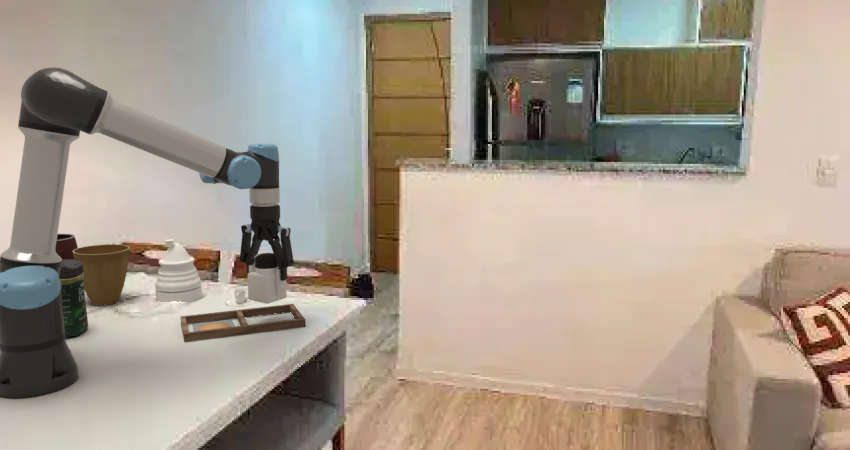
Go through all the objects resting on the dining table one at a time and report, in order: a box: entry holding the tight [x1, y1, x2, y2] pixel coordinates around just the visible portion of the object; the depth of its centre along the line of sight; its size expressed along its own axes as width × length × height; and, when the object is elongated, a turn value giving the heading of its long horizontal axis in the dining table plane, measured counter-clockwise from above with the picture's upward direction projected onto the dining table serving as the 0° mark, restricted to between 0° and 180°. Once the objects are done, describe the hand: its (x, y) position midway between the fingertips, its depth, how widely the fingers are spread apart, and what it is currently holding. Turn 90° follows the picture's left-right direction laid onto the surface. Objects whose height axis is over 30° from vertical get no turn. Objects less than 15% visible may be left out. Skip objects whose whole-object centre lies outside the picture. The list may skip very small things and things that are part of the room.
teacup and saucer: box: [225, 288, 255, 307], centre depth 195 cm, size 9×8×4 cm
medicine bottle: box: [247, 252, 288, 305], centre depth 175 cm, size 7×7×12 cm
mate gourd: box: [55, 233, 79, 260], centre depth 207 cm, size 16×14×20 cm
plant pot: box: [73, 243, 131, 306], centre depth 195 cm, size 15×15×16 cm
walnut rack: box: [179, 303, 306, 343], centre depth 174 cm, size 15×30×2 cm, turn 112°
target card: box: [191, 319, 235, 331], centre depth 171 cm, size 10×10×1 cm
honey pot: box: [154, 238, 203, 304], centre depth 198 cm, size 13×13×18 cm
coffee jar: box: [59, 259, 89, 339], centre depth 167 cm, size 10×8×19 cm
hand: (267, 290), depth 175 cm, fingers closed on medicine bottle, 8 cm apart
